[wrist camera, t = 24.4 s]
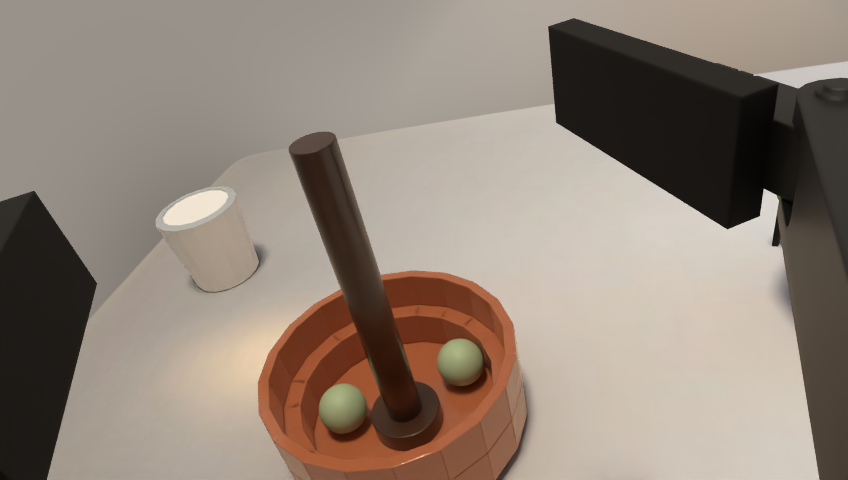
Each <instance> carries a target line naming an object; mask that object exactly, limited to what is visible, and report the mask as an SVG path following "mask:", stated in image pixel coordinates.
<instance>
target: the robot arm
mask: <svg viewBox="0 0 848 480" xmlns="http://www.w3.org/2000/svg"><path fill="white" fill-rule="evenodd" d="M548 28H549V41H550V52H551V65H552V77H553V89H554V101H555V113H556V123H558V124H559V125H561V126H563V127H564V128H566V129H567V130H569V131H571V132H572V133H574V134H575V135H577V136H579V137H580V138H582V139H584V140H585V141H587V142H588V143H590V144H592V145H593V146H595V147H596V148H598V149H600V150H601V151H603V152H604V153H606V154H608V155H609V156H611V157H612V158H614V159H616V160H617V161H619V162H620V163H622V164H624V165H625V166H627V167H628V168H630V169H632V170H633V171H635V172H636V173H638V174H640V175H641V176H643V177H644V178H646V179H648V180H649V181H651V182H652V183H654V184H656V185H657V186H659V187H660V188H662V189H664V190H665V191H667V192H668V193H670V194H672V195H673V196H675V197H676V198H678V199H680V200H681V201H683V202H684V203H686V204H688V205H689V206H691V207H692V208H694V209H696V210H697V211H699V212H700V213H702V214H704V215H705V216H707V217H708V218H710V219H712V220H713V221H715V222H716V223H718V224H720V225H721V226H723V227H724V228H726V229H729V228H732V227H734V226H737V225H739V224H741V223H744V222H746V221H749V220H751V219H754V218H756V217H759V216H760V210H761V203H762V196H763V189H766V190H768V191H770V192H772V193H774V194H776V195H778V196H780V199H779V205H778V211H777V217H776V223H775V229H774V235H773V241H772V246H778V245H779V242H780V240H781V243H782V249H783V255H784V261H785V268H786V274H787V280H788V286H789V292H790V299H791V305H792V311H793V317H794V323H795V330H796V336H797V342H798V348H799V354H800V361H801V367H802V373H803V379H804V386H805V392H806V398H807V404H808V410H809V417H810V423H811V429H812V435H813V441H814V448H815V454H816V460H817V466H818V472H819V479H820V480H848V78H834V79H826V80H818V81H815V82H811V83H808V84H805V85H804V86H802V87H801V88H799V89H798V88H795V87H791V86H788V85H785V84H782V83H779V82H776V81H772V80H769V79H766V78H763V77H760V76H753V74H750V73H747V72H744V71H738V69H734V68H731V67H728V66H725V65H722V64H719V63H712V62H709V61H706V60H703V59H700V58H697V57H693V56H690V55H687V54H684V53H681V52H678V51H675V50H672V49H669V48H665V47H662V46H659V45H656V44H653V43H650V42H647V41H643V40H640V39H637V38H634V37H631V36H628V35H625V34H621V33H618V32H615V31H612V30H609V29H606V28H603V27H599V26H596V25H593V24H590V23H587V22H584V21H581V20H578V19H574V18H573V19H570V20H567V21H564V22H561V23H558V24H555V25H552V26H549V27H548ZM96 285H97V283H96V281H95V280H94V278H93V277H92V276H91V274H90V272H89V271H88V269H87V268H86V267H85V265H84V264H83V262H82V261H81V259H80V258H79V256H78V255H77V253H76V252H75V250H74V249H73V247H72V246H71V244H70V243H69V241H68V240H67V238H66V237H65V235H64V234H63V233H62V231H61V230H60V228H59V227H58V225H57V224H56V222H55V221H54V219H53V218H52V216H51V215H50V213H49V212H48V210H47V209H46V207H45V206H44V204H43V203H42V202H41V200H40V199H39V197H38V196H37V194H36V193H35V191H32V192H29V193H26V194H23V195H20V196H17V197H13V198H10V199H7V200H4V201H1V202H0V480H47V477H48V473H49V469H50V465H51V461H52V457H53V453H54V449H55V445H56V441H57V438H58V434H59V430H60V426H61V422H62V418H63V414H64V410H65V406H66V402H67V399H68V395H69V391H70V387H71V383H72V379H73V375H74V371H75V367H76V363H77V360H78V356H79V352H80V348H81V344H82V340H83V336H84V332H85V328H86V324H87V321H88V317H89V312H90V309H91V305H92V301H93V297H94V293H95V289H96Z"/></svg>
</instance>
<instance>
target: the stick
mask: <svg viewBox="0 0 848 480" xmlns="http://www.w3.org/2000/svg"><path fill="white" fill-rule="evenodd" d="M289 153H290V156H291V158H292V161H293V164H294V166H295V169H296V172H297V174H298V177H299V180H300V182H301V185H302V188H303V190H304V193H305V195H306V198H307V201H308V203H309V206H310V209H311V211H312V214H313V217H314V219H315V222H316V225H317V227H318V230H319V232H320V235H321V238H322V240H323V243H324V246H325V248H326V251H327V254H328V256H329V259H330V262H331V264H332V267H333V270H334V272H335V275H336V277H337V280H338V283H339V285H340V288H341V291H342V293H343V296H344V299H345V301H346V304H347V307H348V309H349V312H350V314H351V317H352V320H353V322H354V325H355V328H356V330H357V333H358V336H359V338H360V341H361V344H362V346H363V349H364V352H365V354H366V357H367V359H368V362H369V365H370V367H371V370H372V373H373V375H374V378H375V381H376V383H377V386H378V389H379V391H380V395H379V397H378V398H377V399H376V401H375V402H374V405H373V407H372V411H371V420H372V423H373V426H374V428H375V431H376V433H377V436H378V438H379V439H380V441H381V442H382V443H383V444H384V445H386V446H387V447H389V448H391V449H394V450H399V451H408V450H411V449H414V448H417V447H419V446H422V445H425V444H427V443H428V442H430V441H431V440H432V439H433V438H434V437H435V436H436V435H437V433H438V432H439V430H440V428H441V425H442V421H443V411H442V408H441V405H440V401H439V398H438V395H437V393H436V392H435V391H434V390H433V389H432V388H431V387H430V386H429V385H427V384H425V383H422V382H418V381H415V380H414V377H413V374H412V371H411V368H410V365H409V362H408V359H407V356H406V353H405V349H404V346H403V343H402V340H401V337H400V334H399V331H398V328H397V325H396V322H395V318H394V315H393V312H392V309H391V306H390V303H389V300H388V297H387V294H386V291H385V287H384V284H383V281H382V278H381V275H380V272H379V269H378V266H377V263H376V260H375V256H374V253H373V250H372V247H371V244H370V241H369V238H368V235H367V232H366V228H365V225H364V222H363V219H362V216H361V213H360V210H359V207H358V204H357V201H356V197H355V194H354V191H353V188H352V185H351V182H350V179H349V176H348V173H347V170H346V166H345V163H344V160H343V157H342V154H341V151H340V148H339V145H338V142H337V139H336V136H335V134H333V133H331V132H317V133H312V134H309V135H306V136H304V137H301V138H300V139H298V140H296V141H295V142H293V143H292V144H291V145H290V147H289Z"/></svg>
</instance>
